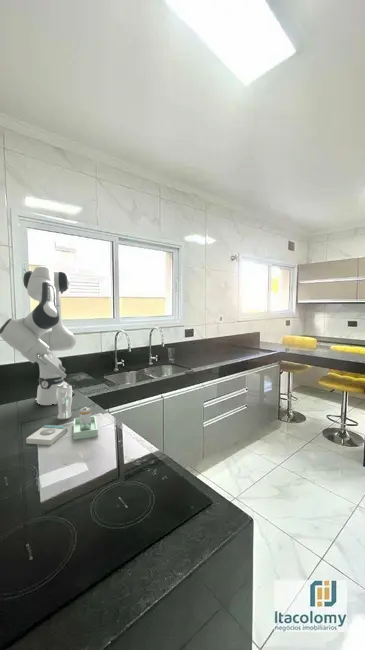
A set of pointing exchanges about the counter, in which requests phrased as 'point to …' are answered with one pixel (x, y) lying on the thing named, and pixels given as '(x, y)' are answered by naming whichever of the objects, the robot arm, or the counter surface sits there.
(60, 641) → the counter surface
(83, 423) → the cell
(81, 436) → the trough
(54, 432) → the white flat block
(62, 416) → the clear plastic bottle
